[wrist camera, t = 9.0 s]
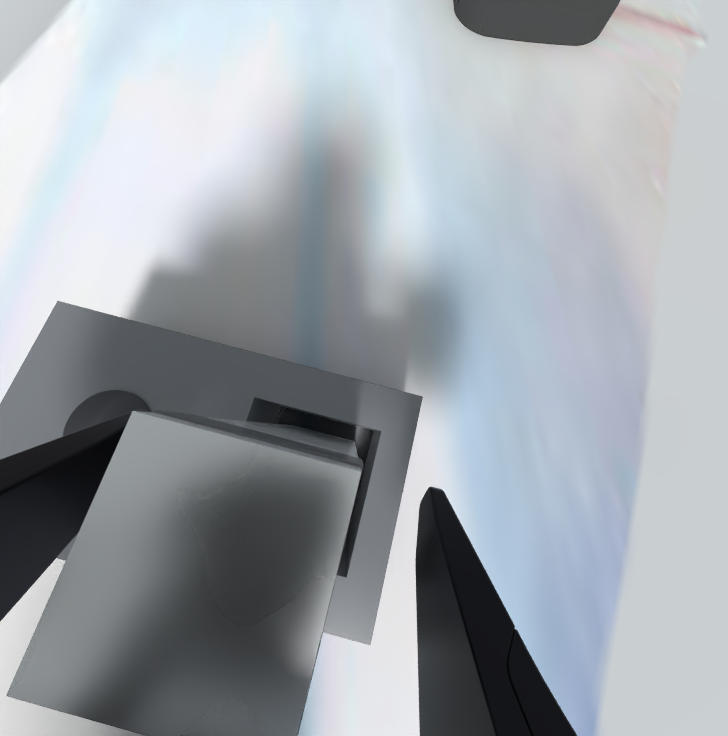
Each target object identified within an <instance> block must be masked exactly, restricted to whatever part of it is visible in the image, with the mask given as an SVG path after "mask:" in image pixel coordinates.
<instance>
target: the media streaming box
mask: <svg viewBox="0 0 728 736" xmlns="http://www.w3.org/2000/svg"><path fill="white" fill-rule="evenodd" d="M619 2H620V0H454V10H455V13H456V15H457V17H458V19H459V20H460V21H461V22H462V23H463V24H464V25H465V26H466V27H467V28H469V29H470V30H472V31H474V32H476V33H478V34H481V35H484V36H489V37H496V38H503V39H511V40H519V41H528V42H537V43H548V44H561V45H583V44H587V43H589V42H591V41H593V40H595V39H596V38H597V37H598V36H599V34H600V33H601V31H602V30H603V28H604V26H605V25H606V23H607V22H608V20H609V18H610V17H611V15H612V14H613V12H614V10H615V9H616V7H617V6H618V4H619Z"/></svg>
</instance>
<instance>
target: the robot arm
mask: <svg viewBox="0 0 728 736" xmlns="http://www.w3.org/2000/svg"><path fill="white" fill-rule="evenodd" d="M134 411H139V412H149V411H146V410H141V409H138V410H134ZM131 413H132V411H131V412H129V413H126V414H123V415H120V416H118V417H115V418H112V419H109V420H107V421H104V422H101V423H99V424H96V425H93V426H90V427H88V428H85V429H82V430H79V431H77V432H74V433H71V434H68V435H66V436H63V437H60V438H57V439H55V440H52V441H49V442H46V443H44V444H41V445H38V446H35V447H33V448H30V449H27V450H24V451H22V452H19V453H16V454H13V455H11V456H8V457H5V458H2V459H0V621H1V620H2V619H3V618H4V617H5V616H6V614H7V613H8V612H9V611H10V610H11V609H12V608H13V606H14V605H15V604H16V603H17V602H18V601H19V600H20V599H21V597H22V596H23V595H24V594H25V593H26V592H27V591H28V589H29V588H30V587H31V586H32V585H33V584H34V583H35V581H36V580H37V579H38V578H39V577H40V576H41V575H42V574H43V572H44V571H45V570H46V569H47V568H48V567H49V566H50V564H51V563H52V562H53V561H54V560H55V559H56V558H57V557H58V555H59V554H60V553H61V552H62V551H63V550H64V549H65V547H66V546H67V545H68V544H69V543H70V542H71V541H72V540H73V538H74V537H75V536H76V535H77V534H78V533H79V531H80V528H81V526H82V524H83V522H84V519H85V517H86V515H87V513H88V510H89V508H90V506H91V504H92V501H93V499H94V497H95V495H96V492H97V490H98V488H99V486H100V483H101V481H102V479H103V477H104V474H105V472H106V470H107V467H108V465H109V463H110V461H111V458H112V456H113V454H114V452H115V449H116V447H117V445H118V443H119V440H120V438H121V436H122V434H123V431H124V429H125V427H126V425H127V422H128V420H129V418H130V416H131ZM150 413H152V412H150ZM416 601H417V641H418V680H419V720H420V736H577V735H576V733H575V731H574V730H573V728H572V726H571V725H570V723H569V721H568V720H567V718H566V716H565V715H564V713H563V711H562V710H561V708H560V706H559V705H558V703H557V701H556V700H555V698H554V696H553V694H552V693H551V691H550V689H549V688H548V686H547V684H546V683H545V681H544V679H543V677H542V675H541V674H540V672H539V670H538V668H537V666H536V665H535V663H534V661H533V659H532V657H531V655H530V654H529V652H528V650H527V648H526V646H525V644H524V642H523V640H522V639H521V637H520V635H519V633H518V631H517V630H516V629H514V628H515V626H514V624H513V622H512V620H511V618H510V616H509V614H508V612H507V610H506V608H505V607H504V605H503V603H502V601H501V599H500V597H499V595H498V593H497V591H496V590H495V588H494V586H493V584H492V582H491V580H490V578H489V576H488V574H487V572H486V571H485V569H484V567H483V565H482V563H481V561H480V559H479V557H478V555H477V553H476V552H475V550H474V548H473V546H472V544H471V542H470V540H469V538H468V536H467V535H466V533H465V531H464V529H463V527H462V525H461V523H460V521H459V519H458V517H457V516H456V514H455V512H454V510H453V508H452V506H451V504H450V502H449V500H448V498H447V497H446V495H445V493H444V491H443V490H441V489H438V488H435V487H429V488H428V490H427V491H426V493H425V495H424V497H423V499H422V501H421V503H420V509H419V521H418V534H417V547H416Z"/></svg>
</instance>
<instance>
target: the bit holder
mask: <svg viewBox="0 0 728 736" xmlns="http://www.w3.org/2000/svg"><path fill="white" fill-rule="evenodd" d="M422 398H423V397H422V396H418V395H414V394H410V393H406V392H403V391H399V390H395V389H391V388H387V387H383V386H380V385H376V384H372V383H368V382H364V381H361V380H357V379H353V378H349V377H345V376H342V375H338V374H334V373H330V372H326V371H323V370H319V369H315V368H311V367H307V366H304V365H300V364H296V363H292V362H288V361H284V360H281V359H277V358H273V357H269V356H265V355H262V354H258V353H254V352H250V351H246V350H243V349H239V348H235V347H231V346H227V345H224V344H220V343H216V342H212V341H208V340H205V339H201V338H197V337H193V336H189V335H186V334H182V333H178V332H174V331H170V330H166V329H163V328H159V327H155V326H151V325H147V324H144V323H140V322H136V321H132V320H128V319H125V318H121V317H117V316H113V315H109V314H106V313H102V312H98V311H94V310H90V309H87V308H83V307H79V306H75V305H71V304H67V303H64V302H60V301H57V303H56V305H55V307H54V308H53V310H52V312H51V314H50V316H49V317H48V319H47V321H46V323H45V325H44V326H43V328H42V330H41V332H40V334H39V335H38V337H37V339H36V341H35V343H34V344H33V346H32V348H31V350H30V352H29V353H28V355H27V357H26V359H25V361H24V362H23V364H22V366H21V368H20V369H19V371H18V373H17V375H16V377H15V378H14V380H13V382H12V384H11V386H10V387H9V389H8V391H7V393H6V395H5V396H4V398H3V400H2V402H1V404H0V459H2V458H5V457H8V456H11V455H13V454H16V453H19V452H22V451H24V450H27V449H30V448H33V447H35V446H38V445H41V444H44V443H46V442H49V441H52V440H55V439H57V438H60V437H63V436H66V435H68V434H71V433H74V432H77V431H79V430H82V429H85V428H88V427H90V426H93V425H96V424H99V423H101V422H104V421H107V420H109V419H112V418H115V417H118V416H120V415H123V414H126V413H129V412H131V411H134V410H138V409H141V410H146V411H149V412H152V413H154V412H155V410H162V411H171V412H181V413H190V414H195V415H198V416H202V417H207V418H218V419H229V420H240V421H252V422H263V423H274V424H276V422H277V419H278V416H279V413H280V410H281V406H282V407H286V408H289V409H293V410H297V411H301V412H304V413H308V414H312V415H316V416H319V417H323V418H327V419H331V420H335V421H338V422H342V423H346V424H350V425H353V426H357V427H361V428H365V429H368V430H372V431H373V434H372V438H371V443H370V447H369V451H368V455H367V459H366V463H365V467H364V471H363V475H362V479H361V483H360V488H359V492H358V496H357V500H356V504H355V508H354V512H353V516H352V520H351V524H350V528H349V532H348V533H347V535H346V540H345V544H344V548H343V552H342V556H341V560H340V564H339V568H338V572H337V576H336V581H335V585H334V589H333V593H332V597H331V601H330V605H329V609H328V613H327V617H326V621H325V626H324V630H323V632H325V633H328V634H332V635H336V636H339V637H343V638H346V639H350V640H354V641H357V642H361V643H364V644H368V645H370V644H371V640H372V635H373V630H374V625H375V621H376V616H377V611H378V606H379V602H380V597H381V592H382V587H383V583H384V578H385V573H386V568H387V564H388V559H389V554H390V549H391V545H392V540H393V535H394V530H395V526H396V521H397V516H398V511H399V507H400V502H401V497H402V492H403V488H404V483H405V478H406V474H407V469H408V464H409V459H410V455H411V450H412V445H413V440H414V436H415V431H416V426H417V421H418V417H419V412H420V407H421V402H422ZM77 535H78V534H77ZM77 535H76V536H75V537H74V538H73V540H72V541H71V542H70V543H69V544H68V545H67V546H66V547H65V549H64V550H63V551H62V552H61V553H60V554H59V555H58V557H57V558H58V559H62V560H67V558H68V555H69V553H70V551H71V549H72V546H73V544H74V542H75V540H76V537H77Z"/></svg>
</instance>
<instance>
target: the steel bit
mask: <svg viewBox="0 0 728 736" xmlns="http://www.w3.org/2000/svg"><path fill="white" fill-rule="evenodd" d="M363 466H364V465H363V462H362V459H360V458H358V454H357V450H356V445H355V441H351V440H347V439H343V438H339V437H336V436H332V435H328V434H324V433H321V432H317V431H313V430H309V429H305V428H302V427H298V426H294V425H286V424H274V423H263V422H252V421H240V420H229V419H218V418H207V417H202V416H198V415H195V414H190V413H181V412H171V411H162V410H155V412H154V413H150V412H139V411H132V413H131V416H130V418H129V420H128V422H127V425H126V427H125V429H124V431H123V434H122V436H121V438H120V440H119V443H118V445H117V447H116V449H115V452H114V454H113V456H112V458H111V461H110V463H109V465H108V467H107V470H106V472H105V474H104V477H103V479H102V481H101V483H100V486H99V488H98V490H97V492H96V495H95V497H94V499H93V501H92V504H91V506H90V508H89V510H88V513H87V515H86V517H85V519H84V522H83V524H82V526H81V528H80V531H79V533H78V535H77V537H76V540H75V542H74V544H73V546H72V549H71V551H70V553H69V555H68V558H67V560H66V562H65V564H64V567H63V569H62V571H61V573H60V576H59V578H58V580H57V582H56V585H55V587H54V589H53V591H52V594H51V596H50V598H49V600H48V603H47V605H46V607H45V609H44V612H43V614H42V616H41V618H40V621H39V623H38V625H37V627H36V630H35V632H34V634H33V637H32V639H31V641H30V643H29V646H28V648H27V650H26V652H25V655H24V657H23V659H22V661H21V664H20V666H19V668H18V670H17V673H16V675H15V677H14V679H13V682H12V684H11V686H10V688H9V691H8V693H7V695H6V696H8V697H12V698H15V699H19V700H22V701H26V702H29V703H33V704H36V705H40V706H43V707H47V708H51V709H54V710H58V711H61V712H65V713H68V714H72V715H75V716H79V717H82V718H86V719H89V720H93V721H96V722H100V723H103V724H107V725H110V726H114V727H117V728H121V729H124V730H128V731H131V732H135V733H138V734H142V735H145V736H297V734H298V732H299V728H300V724H301V720H302V716H303V712H304V708H305V703H306V699H307V695H308V691H309V687H310V683H311V679H312V675H313V671H314V667H315V662H316V658H317V654H318V650H319V646H320V642H321V638H322V634H323V630H324V626H325V621H326V617H327V613H328V609H329V605H330V601H331V597H332V593H333V589H334V585H335V581H336V576H337V572H338V568H339V564H340V560H341V556H342V552H343V548H344V544H345V540H346V535H347V531H348V527H349V523H350V519H351V515H352V511H353V507H354V503H355V499H356V494H357V490H358V486H359V482H360V478H361V474H362V470H363Z"/></svg>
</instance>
